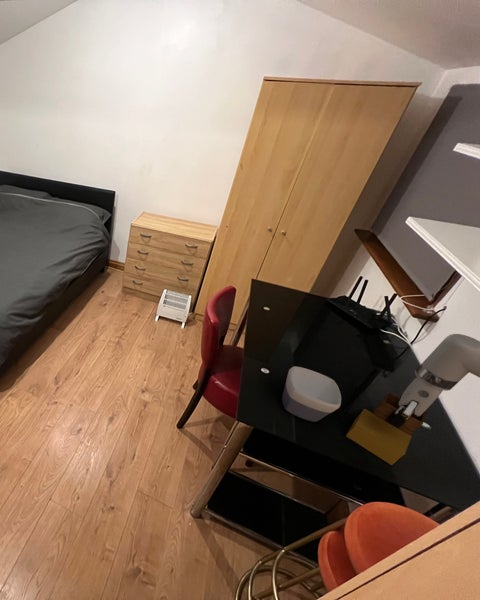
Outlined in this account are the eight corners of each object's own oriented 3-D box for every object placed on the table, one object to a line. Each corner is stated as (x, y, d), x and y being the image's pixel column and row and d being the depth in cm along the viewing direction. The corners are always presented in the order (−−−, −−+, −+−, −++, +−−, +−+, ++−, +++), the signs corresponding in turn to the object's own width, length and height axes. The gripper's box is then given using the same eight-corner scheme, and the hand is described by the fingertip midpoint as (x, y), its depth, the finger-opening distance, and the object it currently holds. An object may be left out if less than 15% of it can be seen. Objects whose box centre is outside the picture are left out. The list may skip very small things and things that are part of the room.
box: (399, 447, 101) (411, 435, 98) (391, 466, 95) (404, 454, 92) (354, 419, 109) (364, 408, 105) (345, 435, 103) (355, 424, 100)
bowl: (274, 412, 108) (289, 390, 102) (275, 382, 120) (288, 361, 114) (327, 433, 103) (345, 411, 97) (322, 400, 115) (339, 379, 108)
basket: (414, 424, 95) (427, 412, 92) (410, 436, 91) (423, 424, 88) (377, 403, 100) (388, 391, 97) (371, 413, 97) (382, 401, 94)
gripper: (450, 400, 78) (404, 443, 88) (459, 370, 88) (416, 412, 98) (411, 381, 83) (371, 423, 93) (423, 355, 93) (386, 396, 103)
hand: (394, 417), depth 95 cm, fingers closed on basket, 6 cm apart
